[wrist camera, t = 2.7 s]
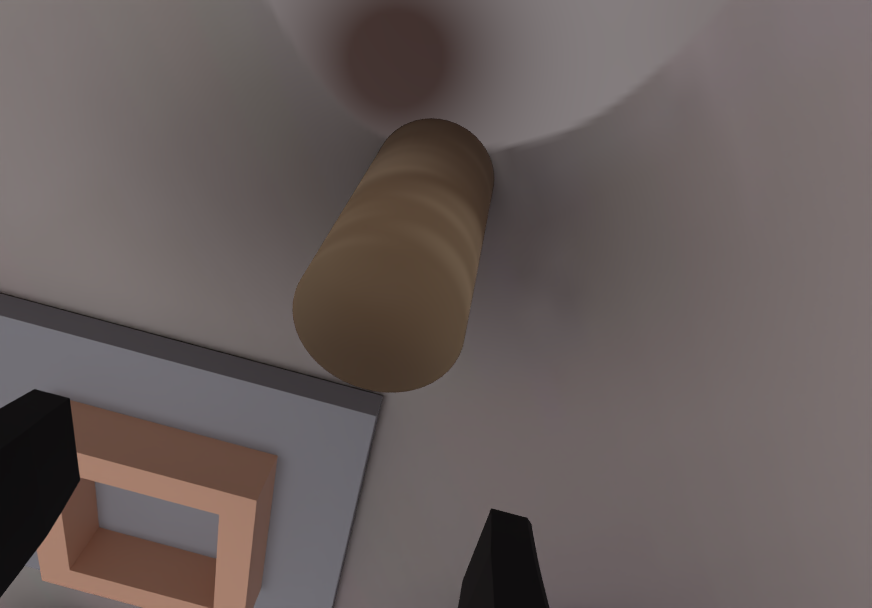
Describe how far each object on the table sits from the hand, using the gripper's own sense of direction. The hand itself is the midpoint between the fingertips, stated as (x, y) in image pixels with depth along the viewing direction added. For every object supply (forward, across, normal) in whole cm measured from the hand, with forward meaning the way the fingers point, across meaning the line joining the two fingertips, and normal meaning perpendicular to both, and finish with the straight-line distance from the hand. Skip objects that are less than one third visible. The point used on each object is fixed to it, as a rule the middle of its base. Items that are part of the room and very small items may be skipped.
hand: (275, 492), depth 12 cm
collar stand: (+9, +6, +13) cm, 17 cm away
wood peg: (+10, -1, -2) cm, 10 cm away
